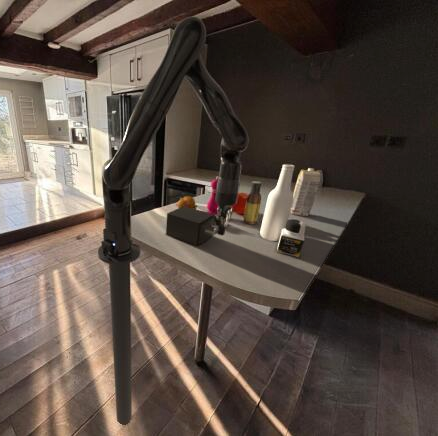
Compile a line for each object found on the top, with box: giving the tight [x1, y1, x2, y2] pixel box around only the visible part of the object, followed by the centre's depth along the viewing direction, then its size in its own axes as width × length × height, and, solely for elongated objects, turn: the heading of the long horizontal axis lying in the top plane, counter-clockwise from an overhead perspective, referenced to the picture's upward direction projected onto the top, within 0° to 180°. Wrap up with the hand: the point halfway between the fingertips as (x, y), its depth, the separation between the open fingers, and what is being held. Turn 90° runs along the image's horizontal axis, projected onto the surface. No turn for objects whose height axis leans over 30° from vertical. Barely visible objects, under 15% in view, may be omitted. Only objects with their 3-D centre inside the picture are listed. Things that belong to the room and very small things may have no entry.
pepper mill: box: [206, 175, 219, 215], centre depth 117 cm, size 7×7×20 cm
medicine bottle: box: [276, 218, 307, 258], centre depth 85 cm, size 7×7×12 cm
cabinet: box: [165, 206, 214, 247], centre depth 96 cm, size 15×13×10 cm
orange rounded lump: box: [176, 195, 199, 210], centre depth 120 cm, size 10×11×10 cm
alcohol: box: [259, 163, 296, 242], centre depth 92 cm, size 9×9×30 cm
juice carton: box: [290, 167, 322, 217], centre depth 120 cm, size 9×8×24 cm
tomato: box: [231, 192, 250, 215], centre depth 123 cm, size 14×16×10 cm
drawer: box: [198, 217, 219, 245], centre depth 94 cm, size 18×11×8 cm, turn 50°
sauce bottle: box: [243, 180, 263, 225], centre depth 108 cm, size 7×6×20 cm
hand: (221, 234), depth 88 cm, fingers closed
